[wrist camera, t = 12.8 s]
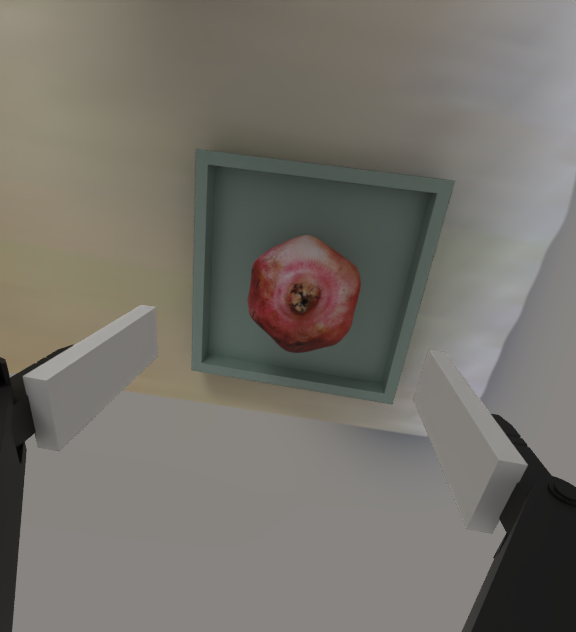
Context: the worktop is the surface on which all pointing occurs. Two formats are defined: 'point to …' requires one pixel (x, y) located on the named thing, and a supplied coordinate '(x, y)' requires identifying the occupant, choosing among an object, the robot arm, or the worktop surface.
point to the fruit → (303, 294)
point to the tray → (338, 233)
